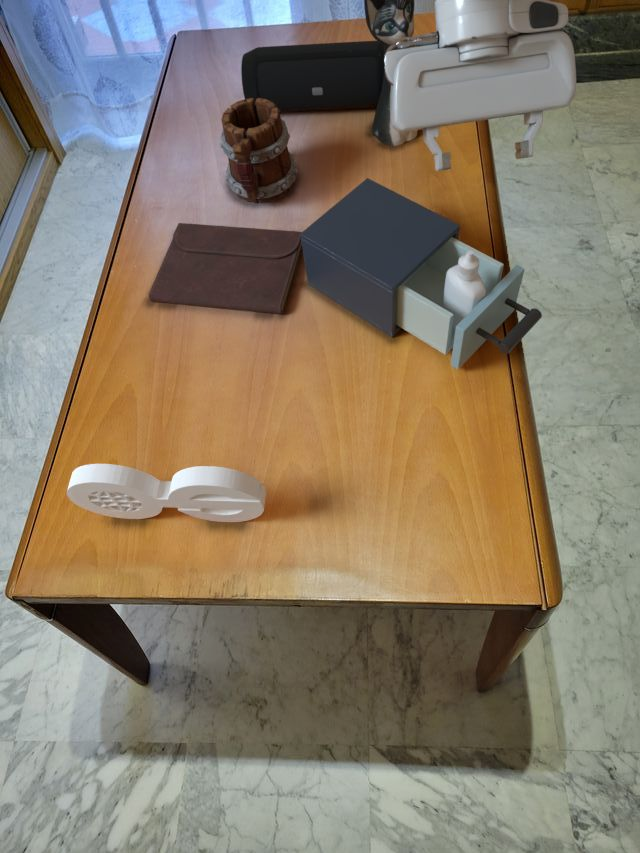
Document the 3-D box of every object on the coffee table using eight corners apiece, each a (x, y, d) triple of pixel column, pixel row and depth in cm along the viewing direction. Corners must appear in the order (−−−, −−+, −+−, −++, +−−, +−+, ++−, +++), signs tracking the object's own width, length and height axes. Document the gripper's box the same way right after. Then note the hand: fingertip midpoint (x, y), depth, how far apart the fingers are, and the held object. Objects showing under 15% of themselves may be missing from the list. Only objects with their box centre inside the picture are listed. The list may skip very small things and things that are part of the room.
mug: (305, 152, 106) (291, 75, 92) (294, 223, 101) (278, 153, 87) (237, 152, 108) (213, 76, 94) (224, 222, 103) (196, 153, 89)
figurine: (373, 153, 105) (369, -14, 83) (358, 128, 108) (350, -38, 87) (426, 137, 106) (435, -33, 84) (408, 113, 109) (413, -55, 88)
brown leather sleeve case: (282, 316, 89) (279, 306, 87) (151, 303, 92) (146, 293, 91) (304, 239, 96) (303, 229, 94) (182, 230, 100) (179, 220, 98)
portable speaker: (248, 125, 112) (237, 69, 103) (255, 91, 117) (245, 35, 108) (394, 119, 109) (394, 60, 100) (395, 85, 114) (395, 26, 105)
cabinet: (453, 278, 89) (460, 225, 81) (392, 337, 85) (392, 288, 77) (369, 231, 96) (367, 177, 87) (307, 284, 91) (299, 233, 83)
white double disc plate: (89, 517, 76) (50, 481, 67) (93, 500, 77) (56, 462, 68) (270, 523, 73) (254, 486, 64) (272, 505, 74) (257, 467, 66)
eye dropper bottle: (473, 302, 84) (485, 233, 74) (480, 336, 81) (493, 268, 71) (440, 305, 84) (447, 236, 74) (446, 338, 82) (454, 272, 71)
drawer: (545, 328, 82) (559, 286, 76) (489, 390, 78) (499, 351, 72) (427, 262, 90) (430, 219, 83) (370, 315, 86) (368, 274, 79)
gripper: (386, 33, 65) (399, 177, 70) (583, 4, 65) (582, 149, 70) (378, 46, 71) (390, 177, 76) (558, 19, 71) (558, 152, 76)
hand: (483, 164), depth 73 cm, fingers open, 8 cm apart
